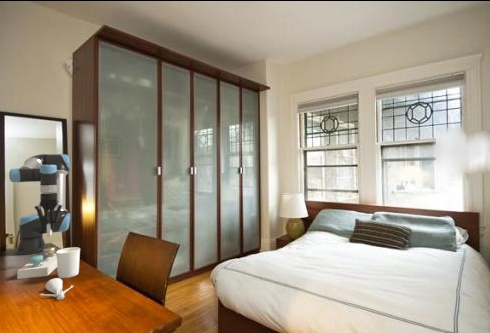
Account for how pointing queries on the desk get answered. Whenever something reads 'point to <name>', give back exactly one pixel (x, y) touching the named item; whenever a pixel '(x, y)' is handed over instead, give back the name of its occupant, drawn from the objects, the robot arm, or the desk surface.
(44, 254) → the knob mid
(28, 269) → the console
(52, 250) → the knob
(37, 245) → the robot arm
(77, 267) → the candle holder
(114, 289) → the desk surface
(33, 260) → the knob
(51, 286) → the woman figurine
